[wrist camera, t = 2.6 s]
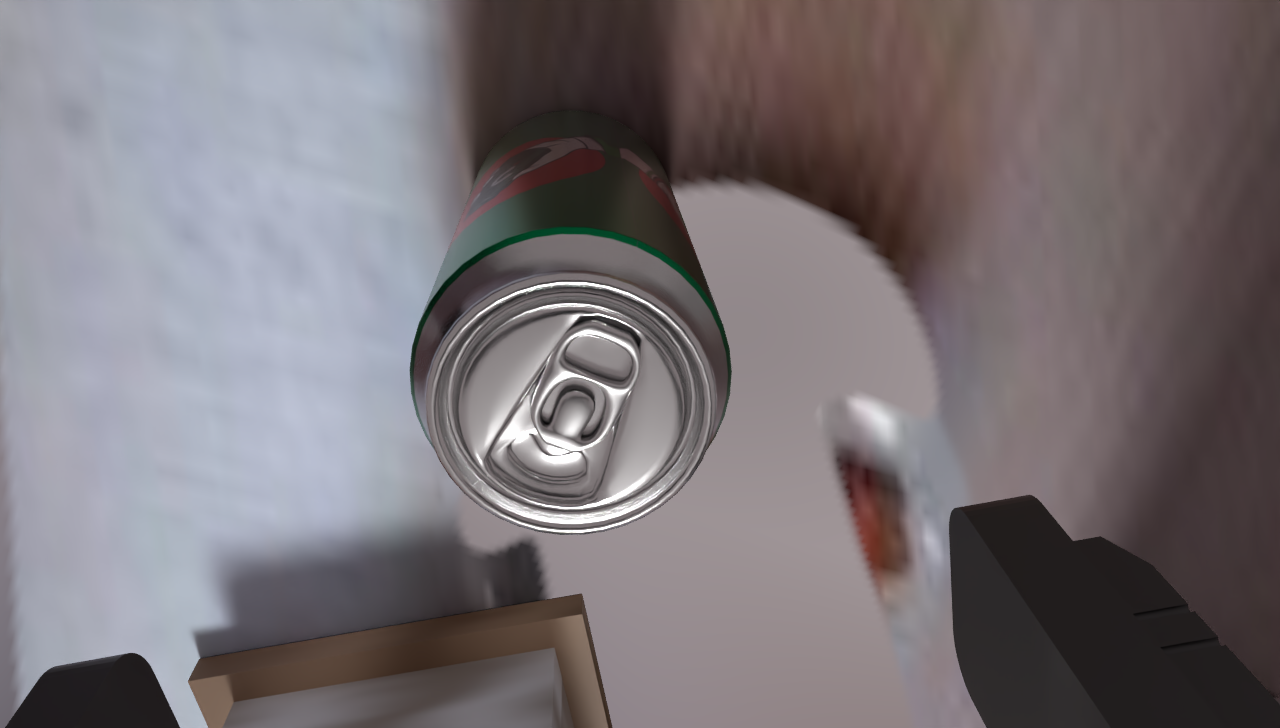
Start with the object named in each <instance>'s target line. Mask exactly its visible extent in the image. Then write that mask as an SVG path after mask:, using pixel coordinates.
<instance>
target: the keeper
mask: <svg viewBox="0 0 1280 728" xmlns="http://www.w3.org/2000/svg"><path fill="white" fill-rule="evenodd" d="M188 683H189V685H190V687H191V690H192V692H193V694H194V696H195V698H196V701H197V703H198V705H199V707H200V710H201V712H202V714H203V716H204V719H205V721H206V723H207V725H208V727H209V728H612V724H611V720H610V715H609V710H608V706H607V701H606V697H605V693H604V688H603V684H602V679H601V675H600V671H599V666H598V662H597V658H596V653H595V649H594V644H593V640H592V636H591V632H590V627H589V623H588V618H587V614H586V609H585V605H584V600H583V596H582V594H577V595H571V596H565V597H559V598H553V599H547V600H541V601H535V602H530V603H524V604H518V605H512V606H506V607H500V608H494V609H488V610H483V611H477V612H471V613H465V614H459V615H453V616H447V617H442V618H436V619H430V620H424V621H418V622H412V623H406V624H401V625H395V626H389V627H383V628H377V629H371V630H365V631H360V632H354V633H348V634H342V635H336V636H330V637H324V638H319V639H313V640H307V641H301V642H295V643H289V644H283V645H278V646H272V647H266V648H260V649H254V650H248V651H242V652H237V653H231V654H225V655H219V656H213V657H207V658H201V659H199V661H198V663H197V664H196V666H195V668H194V670H193V672H192V674H191V676H190V678H189V680H188Z"/></svg>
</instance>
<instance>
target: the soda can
mask: <svg viewBox="0 0 1280 728" xmlns="http://www.w3.org/2000/svg"><path fill="white" fill-rule="evenodd" d="M731 372H732V371H731V360H730V350H729V345H728V341H727V338H726V334H725V331H724V327H723V324H722V321H721V319H720V316H719V313H718V310H717V308H716V305H715V302H714V300H713V297H712V295H711V292H710V290H709V287H708V284H707V281H706V279H705V276H704V274H703V271H702V268H701V265H700V263H699V260H698V258H697V255H696V252H695V249H694V247H693V244H692V242H691V239H690V236H689V234H688V231H687V228H686V226H685V223H684V220H683V218H682V215H681V212H680V210H679V207H678V204H677V202H676V199H675V196H674V194H673V191H672V188H671V186H670V183H669V181H668V178H667V175H666V173H665V171H664V169H663V167H662V165H661V162H660V161H659V159H658V158H657V156H656V155H655V153H654V152H653V150H652V149H651V148H650V147H649V146H648V145H647V143H646V142H645V141H644V140H643V139H642V138H641V137H640V136H638V135H637V134H636V133H635V132H633V131H632V130H631V129H629V128H628V127H627V126H625V125H623V124H621V123H619V122H617V121H616V120H614V119H611V118H608V117H605V116H603V115H600V114H596V113H591V112H585V111H566V110H565V111H558V112H551V113H547V114H543V115H540V116H537V117H534V118H532V119H530V120H528V121H526V122H523V123H521V124H519V125H518V126H517V127H515V128H514V129H512V130H511V131H510V132H508V133H507V134H506V135H505V136H504V137H503V138H502V139H501V140H500V141H499V142H498V143H497V144H496V145H495V146H494V147H493V148H492V150H491V151H490V153H489V154H488V155H487V157H486V158H485V160H484V162H483V164H482V166H481V168H480V170H479V173H478V175H477V178H476V180H475V183H474V185H473V188H472V190H471V193H470V195H469V198H468V200H467V203H466V205H465V208H464V210H463V213H462V216H461V218H460V221H459V223H458V226H457V228H456V231H455V233H454V236H453V238H452V241H451V243H450V246H449V248H448V251H447V253H446V256H445V259H444V261H443V264H442V266H441V269H440V271H439V274H438V276H437V279H436V281H435V284H434V286H433V289H432V291H431V294H430V297H429V299H428V302H427V304H426V307H425V309H424V312H423V314H422V317H421V319H420V322H419V325H418V328H417V332H416V335H415V338H414V342H413V345H412V353H411V362H410V382H411V394H412V398H413V402H414V406H415V410H416V415H417V417H418V420H419V422H420V424H421V426H422V429H423V431H424V433H425V436H426V437H427V439H428V441H429V442H430V444H431V445H432V447H433V448H434V450H435V451H436V454H437V456H438V458H439V460H440V462H441V464H442V465H443V467H444V468H445V470H446V472H447V473H448V475H449V476H450V478H451V479H452V480H453V481H454V482H455V484H456V485H457V486H458V487H459V488H460V489H461V490H462V491H463V492H464V494H466V495H467V496H468V497H469V498H470V499H472V500H473V501H474V502H475V503H477V504H478V505H479V506H480V507H482V508H483V509H485V510H487V511H488V512H490V513H492V514H493V515H495V516H497V517H498V518H500V519H503V520H505V521H507V522H510V523H512V524H514V525H517V526H519V527H524V528H527V529H531V530H534V531H539V532H544V533H552V534H560V535H565V534H566V535H569V534H571V535H572V534H589V533H596V532H603V531H607V530H610V529H614V528H617V527H621V526H624V525H627V524H629V523H631V522H634V521H636V520H638V519H641V518H643V517H645V516H646V515H648V514H649V513H651V512H653V511H654V510H656V509H658V508H659V507H661V506H662V505H664V504H665V503H666V502H667V501H668V500H670V499H671V498H672V497H673V496H674V495H676V494H677V493H678V491H680V489H681V488H682V487H683V486H684V485H685V484H686V482H687V481H688V480H689V479H690V478H691V477H692V475H693V474H694V472H695V470H696V469H697V467H698V466H699V464H700V463H701V461H702V459H703V457H704V454H705V452H706V450H707V449H708V447H709V446H710V444H711V443H712V441H713V440H714V438H715V436H716V434H717V432H718V429H719V427H720V425H721V423H722V420H723V418H724V415H725V412H726V407H727V403H728V400H729V396H730V385H731Z"/></svg>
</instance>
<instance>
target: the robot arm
mask: <svg viewBox="0 0 1280 728" xmlns="http://www.w3.org/2000/svg"><path fill="white" fill-rule="evenodd" d="M949 537H950V562H951V587H952V612H953V633H954V642H955V648H956V653H957V658H958V662H959V666H960V669H961V673H962V676H963V679H964V682H965V685H966V687H967V690H968V692H969V694H970V697H971V699H972V701H973V703H974V705H975V706H976V708H977V710H978V712H979V714H980V716H981V718H982V720H983V722H984V724H985V725H986V727H987V728H1280V698H1273V696H1272V695H1271V694H1270V693H1269V692H1268V691H1267V690H1266V689H1265V688H1264V687H1263V686H1262V684H1261V683H1260V682H1259V681H1258V680H1257V679H1256V678H1255V677H1254V676H1253V675H1252V674H1251V672H1250V671H1249V670H1248V669H1247V668H1246V667H1245V666H1244V665H1243V664H1242V663H1241V662H1240V660H1239V659H1238V658H1237V657H1236V656H1235V655H1234V654H1233V653H1232V652H1231V651H1230V650H1229V648H1228V647H1227V646H1226V645H1225V646H1221V645H1220V644H1219V641H1218V636H1217V635H1216V634H1215V633H1214V632H1213V631H1212V630H1211V629H1210V628H1209V627H1208V626H1207V624H1206V623H1205V622H1204V621H1203V620H1202V619H1201V618H1200V617H1199V616H1198V615H1197V614H1196V612H1190V611H1189V609H1188V604H1187V603H1186V602H1185V600H1184V599H1183V598H1182V597H1181V596H1180V595H1179V594H1178V593H1177V592H1176V591H1175V590H1174V588H1173V587H1172V586H1171V585H1170V584H1169V583H1168V582H1167V581H1166V580H1165V579H1164V578H1163V576H1162V575H1161V574H1160V573H1159V572H1158V571H1157V570H1156V569H1155V568H1154V567H1153V566H1152V565H1151V564H1149V563H1147V562H1146V561H1144V560H1142V559H1140V558H1138V557H1137V556H1135V555H1133V554H1131V553H1129V552H1128V551H1126V550H1124V549H1122V548H1120V547H1119V546H1117V545H1115V544H1113V543H1111V542H1110V541H1108V540H1106V539H1104V538H1102V537H1101V536H1100V537H1095V538H1089V539H1083V540H1078V541H1072V540H1071V538H1070V537H1069V536H1068V535H1067V533H1066V532H1065V531H1064V530H1063V529H1062V527H1061V526H1060V525H1059V524H1058V523H1057V521H1056V520H1055V519H1054V518H1053V517H1052V515H1051V514H1050V513H1049V512H1048V510H1047V509H1046V508H1045V507H1044V506H1043V504H1042V503H1041V502H1040V501H1039V500H1038V499H1037V498H1035V497H1034V496H1032V495H1026V496H1020V497H1015V498H1009V499H1003V500H998V501H992V502H987V503H981V504H975V505H970V506H964V507H959V508H954V509H953V510H952V512H951V515H950V522H949ZM5 728H180V727H179V725H178V722H177V720H176V718H175V716H174V714H173V712H172V710H171V708H170V706H169V703H168V701H167V699H166V697H165V695H164V693H163V691H162V689H161V687H160V684H159V682H158V680H157V678H156V676H155V674H154V672H153V670H152V668H151V666H150V665H149V663H148V662H147V661H146V660H145V659H144V658H143V657H142V656H140V655H138V654H135V653H128V654H122V655H117V656H111V657H105V658H100V659H94V660H89V661H83V662H77V663H72V664H66V665H61V666H55V667H53V668H51V669H49V670H47V671H46V672H45V673H44V674H43V675H42V676H41V677H40V679H39V680H38V681H37V683H36V684H35V685H34V687H33V688H32V690H31V691H30V693H29V694H28V696H27V697H26V698H25V700H24V701H23V703H22V704H21V706H20V707H19V708H18V710H17V711H16V713H15V714H14V716H13V717H12V718H11V720H10V721H9V723H8V724H7V726H6V727H5Z"/></svg>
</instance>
